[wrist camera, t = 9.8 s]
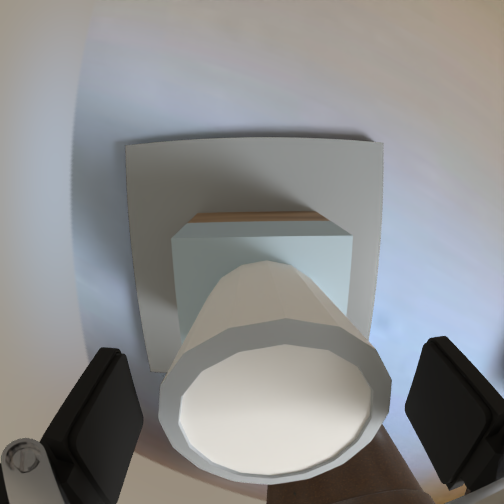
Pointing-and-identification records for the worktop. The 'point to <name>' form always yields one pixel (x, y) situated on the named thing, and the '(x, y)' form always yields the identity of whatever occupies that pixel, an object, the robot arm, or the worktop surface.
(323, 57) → the worktop surface
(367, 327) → the plate
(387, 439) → the plant pot
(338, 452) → the white rounded piece
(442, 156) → the worktop surface
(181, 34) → the worktop surface
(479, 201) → the worktop surface
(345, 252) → the brick
